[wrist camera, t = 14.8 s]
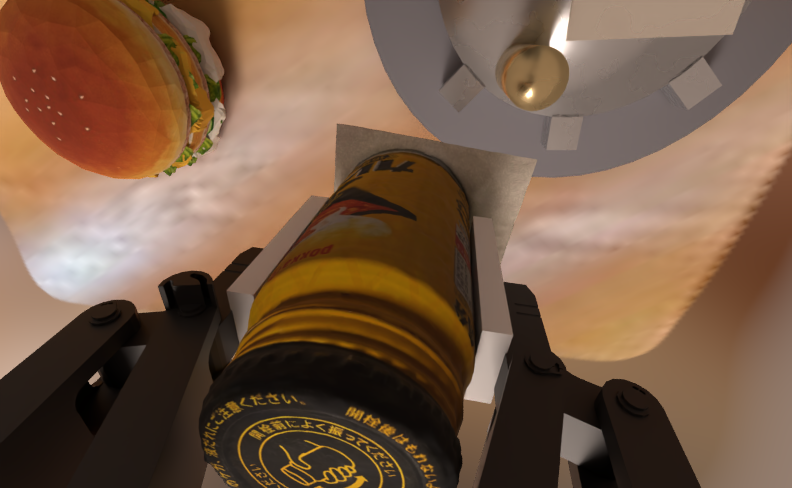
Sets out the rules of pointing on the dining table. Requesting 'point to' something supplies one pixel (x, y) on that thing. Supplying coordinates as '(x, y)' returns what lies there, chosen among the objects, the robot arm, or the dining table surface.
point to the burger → (113, 82)
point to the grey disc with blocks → (584, 55)
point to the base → (521, 131)
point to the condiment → (366, 325)
